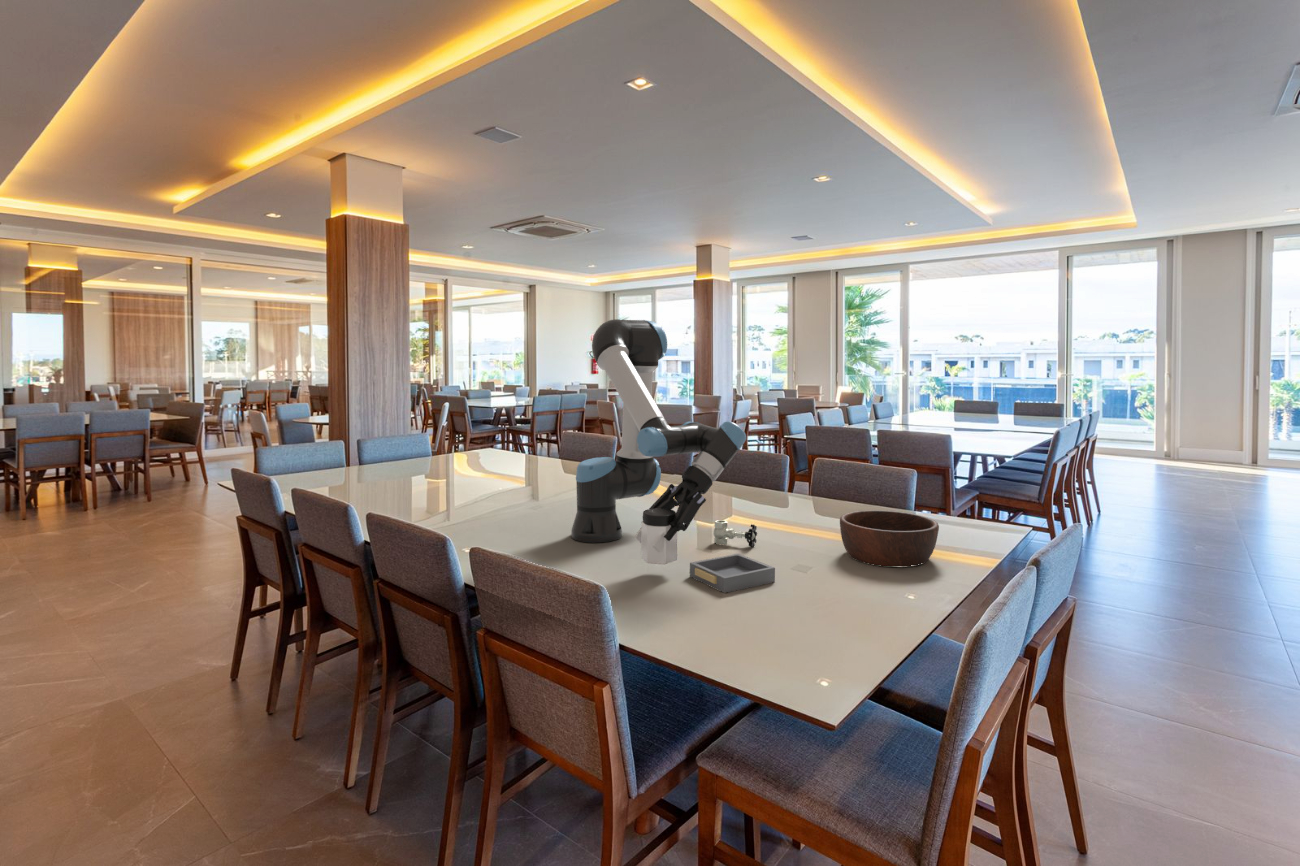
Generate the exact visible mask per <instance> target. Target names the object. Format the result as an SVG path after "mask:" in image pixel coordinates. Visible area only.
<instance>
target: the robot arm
mask: <svg viewBox="0 0 1300 866" xmlns="http://www.w3.org/2000/svg"><path fill="white" fill-rule="evenodd" d="M591 340H592V342H591V351H592V354H593V355H592V356H593V358H594V360H595V362H596V364H597V366H598V368H600V369H601V370H603V371H604V372H605V373H606V375H607V376H608V378H609V380H610V381H611V384H612V385H613V387H614V388H615V390H616V392H617V393H618V396H619V397H620V399H621V401H622V403H623V405H622V406H623V407H622V427H621V428H622V430H621V431H622V432H621V448H620V449H619V450H618V451H617V452H616V454H615V455H616V457H615V458H614V457H610V456H601V457H593V458H589V459H585V460H582V461H580V462H579V463H578V465H577V466H576V471H575V472H576V474H575V481H576V514H575V517H574V521H573V523H572V527H571V532H570V533H571V534H570V535H571V539H572V540H574V541H577V542H582V543H591V544H592V543H595V544H596V543H608V542H613V541H617V540H620V539H621V538H622V536H623V530H622V525H621V523H620V519H619V516H618V513H617V506H616V505H617V503H616V502H617V501H616V500H622V499H630V498H635V497H637V498H640V497H641V498H642V497H644V496H647V495H651V494H654V492H656V491H657V489H658V487H659V485H660V483H661V478H662V477H661V476H662V471H661V469H662V468H661V467H660V464H659V463H660V462H659V461H658V460H657V459H656V458H655V457H657V458H661V457H663V456H673V455H683V454H690V453H691V454H692V453H693V454H694V453H698V454H697V455H696V456H695V457H694V459H693V460H692V462H691V463H690V464H691V465H689V466H688V467H687V468H686V470H684V472H683V473H682V474H681V479H682V481H681V482H680V483H679V484H678V485H677V486H675V485H674V484H673V483H670V484H669V485H668V487H667V489H666V490H665V491H664V492H663V493H662V495H661V496H659V498H657V499H656V500H655V502H654V503H653V504H652V505H651V506H650V507H649V508H648V509H654V508H664V509H671V510H673V509H674V508H675V507H677V510H676V511H675V512H676V514H675V516H674V519H673V521H672V522H669V523H670V524H671V525H672V526H670V525H669V526H668V531H667V533H666V535H665V536H664V533H665V532H663V533H662V534H660V535H659V537H658V538H657V539H656V540H655V542H654V543H653V544H652V546H653V547H654V548H655V549H656V550H657V551H658V552H661V551H662V550H663V548H664V538H666V539H667V543H668V542H669V541H670V540H671V539H672V538H673V536H674V535H675V534H676V532H677V533H678V532H681V531H683V532H686V531H687V529H688V528H689V526H690V525H691V523H692V521H693V520H694V519H695V516H696V514H697V513H698V511H699V509H700V508H701V506H703V504H705V503H706V501H707V499H706V497H704V495H705V494H706V493H707V492H708V491H709V490H710V489H711V487H712V486H713V482H715V481H716V480H717V479H718V477H719V476H720V475H721V474H722V472H723V471H724V470H725V468H727V466H728V465H729V464H730V462H731V461H732V460H733V458H734V457H736V455H737V453H738V452H739V451H741V449H742V447H743V446H744V444H745V443H746V441H747V434H746V432H745V431H744V430H743V429H742V428H741V426H740V425H738V424H737V423H735V422H732V421H729V420H726V421H724V422H723V423H722V424H721V425H719V427H714V426H713V427H712V426H709V425H706V424H703V423H701V422H699V421H696V422H694V421H686V422H684V423H683V424H681V425H669V423H668V421H667V420H666V418H665V417H664V415H663V413H662V412H661V410H660V408H659V407H658V405H657V402H656V401H655V400H654V398H653V396H652V395H653V377H654V376H653V375H654V371H656V369H657V368H658V367H659V361H660V360H661V359H663V358H664V357H665V356H666V355H665V354H666V353H667V350H668V338H667V334H666V331H665V329H663V327H662V326H661V324H660V323H658V322H656V321H652V320H646V319H618V318H617V319H615V318H614V319H610V320H607V321H604V322H603V323H602V324H600V325H599V327H597V329H596V331H595V332H594V334H593V337H592V339H591ZM633 538H635V539H636V541H638V542H639V543H640V544H641V527H640V529H638V531H637V532H636V534H634V536H633Z"/></svg>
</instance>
